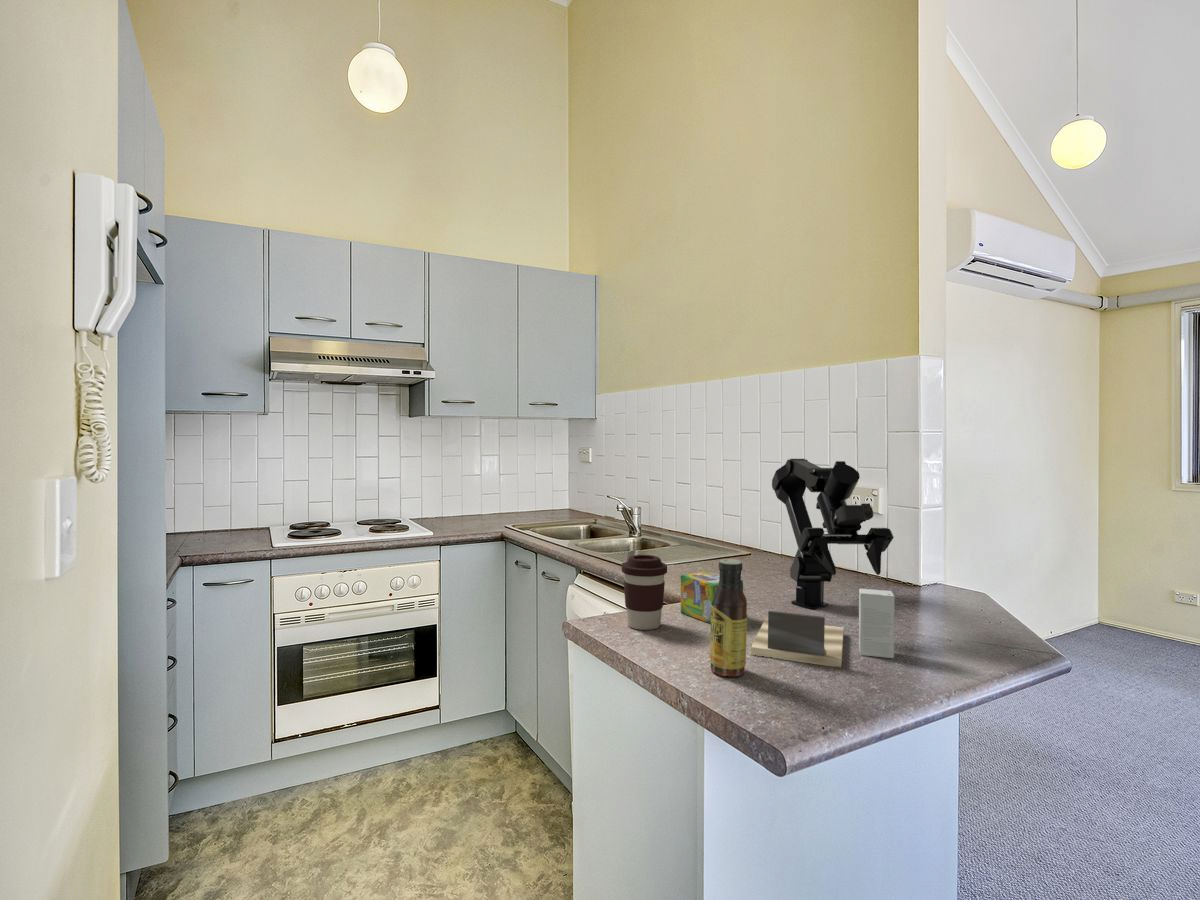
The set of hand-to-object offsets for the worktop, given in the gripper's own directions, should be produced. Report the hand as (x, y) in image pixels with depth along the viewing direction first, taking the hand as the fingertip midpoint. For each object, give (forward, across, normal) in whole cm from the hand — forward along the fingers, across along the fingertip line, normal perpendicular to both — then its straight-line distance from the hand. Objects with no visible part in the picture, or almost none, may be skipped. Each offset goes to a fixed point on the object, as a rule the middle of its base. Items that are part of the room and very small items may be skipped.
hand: (856, 574), depth 126 cm
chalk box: (-9, -30, +22) cm, 38 cm away
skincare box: (+16, 0, +4) cm, 16 cm away
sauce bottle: (+22, -31, -2) cm, 38 cm away
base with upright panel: (+12, -13, +8) cm, 19 cm away
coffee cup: (+3, -43, +16) cm, 46 cm away
